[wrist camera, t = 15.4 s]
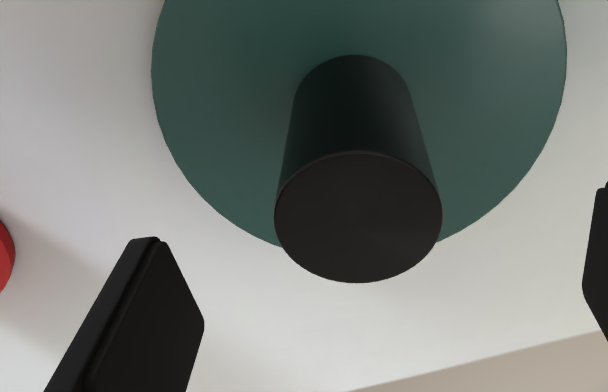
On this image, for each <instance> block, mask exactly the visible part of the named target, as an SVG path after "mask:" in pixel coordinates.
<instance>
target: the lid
mask: <svg viewBox="0 0 608 392" xmlns="http://www.w3.org/2000/svg"><path fill="white" fill-rule="evenodd" d="M566 64H567V45H566V36H565V28H564V20H563V17H562V13H561V10H560V6H559V3H558V0H165V3H164V5H163V8H162V11H161V14H160V16H159V19H158V23H157V28H156V33H155V38H154V43H153V50H152V65H151V78H152V91H153V99H154V104H155V109H156V113H157V118H158V122H159V125H160V128H161V131H162V133H163V136H164V139H165V142H166V144H167V146H168V148H169V150H170V152H171V154H172V156H173V158H174V160H175V162H176V164H177V165H178V167H179V168H180V170H181V171H182V173H183V174H184V176H185V177H186V179H187V180H188V182H189V183H190V184H191V185H192V186H193V187H194V189H195V190H196V191H197V192H198V193H199V194H200V195H201V197H202V198H203V199H204V200H205V201H206V202H208V203H209V204H210V205H211V206H212V207H213V208H214V209H215V210H216V211H217V212H218V213H220V214H221V215H222V216H224V217H225V218H226V219H228V220H229V221H230V222H232V223H233V224H235V225H236V226H238V227H239V228H241V229H243V230H245V231H246V232H248V233H250V234H251V235H253V236H255V237H257V238H260V239H262V240H264V241H266V242H268V243H271V244H273V245H276V246H279V247H282V248H283V249H284V251H285V252H286V253H287V254H288V255H289V257H290V258H291V259H292V260H294V261H295V262H296V263H297V264H298V265H300V266H301V267H302V268H304V269H306V270H307V271H309V272H311V273H313V274H315V275H317V276H320V277H323V278H326V279H329V280H333V281H338V282H345V283H369V282H376V281H381V280H385V279H388V278H391V277H394V276H397V275H399V274H401V273H403V272H405V271H407V270H409V269H410V268H412V267H414V266H415V265H416V264H417V263H419V262H420V261H421V260H422V259H423V258H424V257H425V256H426V255H427V254H428V253H429V252H430V250H431V249H432V248H433V246H434V245H435V243H436V242H439V241H441V240H443V239H445V238H447V237H449V236H451V235H453V234H455V233H457V232H459V231H461V230H463V229H464V228H466V227H467V226H469V225H471V224H472V223H474V222H476V221H477V220H479V219H480V218H481V217H483V216H484V215H485V214H487V213H488V212H489V211H490V210H492V209H493V208H494V207H496V206H497V205H498V204H499V203H500V202H501V201H502V200H503V199H504V198H505V197H506V196H507V195H508V194H509V193H510V192H511V191H512V190H513V189H514V188H515V187H516V186H517V185H518V184H519V182H520V181H521V180H522V179H523V177H524V176H525V175H526V174H527V173H528V171H529V170H530V169H531V167H532V165H533V164H534V162H535V161H536V159H537V158H538V156H539V154H540V153H541V151H542V150H543V148H544V146H545V144H546V141H547V139H548V137H549V135H550V133H551V131H552V129H553V127H554V124H555V121H556V118H557V114H558V111H559V108H560V105H561V102H562V96H563V91H564V85H565V79H566Z"/></svg>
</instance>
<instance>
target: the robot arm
mask: <svg viewBox="0 0 608 392" xmlns="http://www.w3.org/2000/svg"><path fill="white" fill-rule="evenodd" d="M582 290H583V295H584V298H585V300H586V302H587V304H588V306H589V308H590V309H591V311H592V313H593V315H594V317H595V319H596V321H597V322H598V324H599V326H600V328H601V330H602V332H603V333H604V335H605V337H606V339H607V341H608V182H607V183H606V185H605V188H600V189H598V190H597V192H596V197H595V203H594V210H593V216H592V222H591V229H590V235H589V241H588V248H587V254H586V260H585V267H584V273H583V279H582ZM203 332H204V319H203V316H202V314H201V312H200V310H199V308H198V306H197V304H196V302H195V300H194V297H193V295H192V293H191V291H190V289H189V287H188V285H187V283H186V281H185V279H184V277H183V275H182V273H181V271H180V269H179V267H178V265H177V262H176V260H175V258H174V256H173V254H172V252H171V250H170V248H169V246H168V244H167V243H166V242H161V241H160V239H159V238H157V237H154V236H153V237H145V238H137V239H132V240H130V242H129V243H128V244H127V246H126V248H125V250H124V251H123V253H122V255H121V257H120V258H119V260H118V262H117V264H116V265H115V267H114V269H113V271H112V272H111V274H110V276H109V278H108V279H107V281H106V283H105V285H104V286H103V288H102V290H101V292H100V293H99V295H98V297H97V299H96V300H95V302H94V304H93V306H92V307H91V309H90V311H89V313H88V314H87V316H86V318H85V320H84V321H83V323H82V325H81V327H80V328H79V330H78V332H77V334H76V335H75V337H74V339H73V341H72V343H71V344H70V346H69V348H68V350H67V351H66V353H65V355H64V357H63V358H62V360H61V362H60V364H59V365H58V367H57V369H56V371H55V372H54V374H53V376H52V378H51V379H50V381H49V383H48V385H47V386H46V388H45V390H44V392H186V389H187V385H188V382H189V379H190V376H191V372H192V369H193V366H194V362H195V359H196V356H197V352H198V349H199V346H200V343H201V339H202V336H203Z"/></svg>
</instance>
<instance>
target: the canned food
mask: <svg viewBox="0 0 608 392" xmlns="http://www.w3.org/2000/svg"><path fill="white" fill-rule="evenodd" d="M14 260H15V250H14V245H13V242H12V240H11V237H10V235H9V233H8V231H7V230H6V228H5V227H4V226H3V224H2V223H1V221H0V293H1V291H2V290H3V289H4V287H5V286H6V284H7V282H8V280H9V278H10V275H11V272H12V269H13V265H14Z"/></svg>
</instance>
